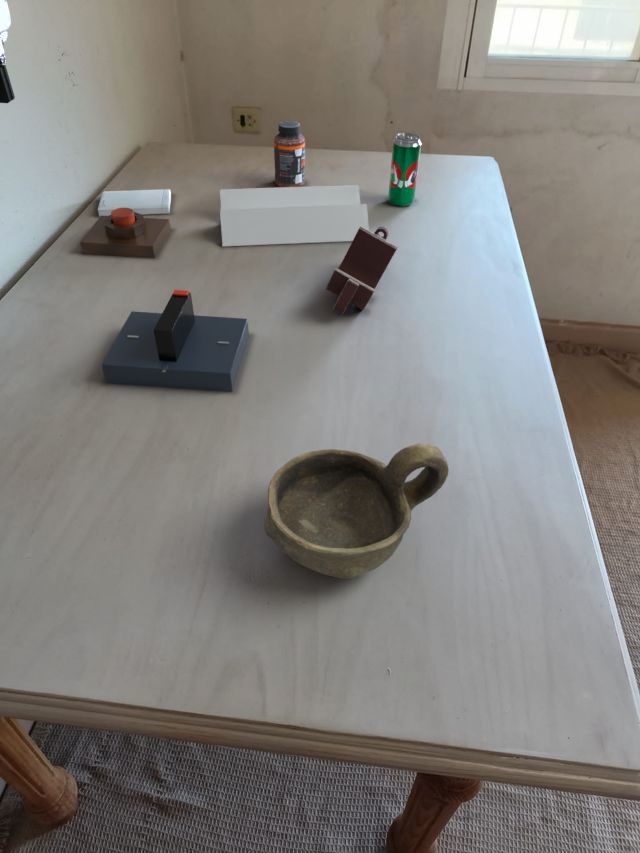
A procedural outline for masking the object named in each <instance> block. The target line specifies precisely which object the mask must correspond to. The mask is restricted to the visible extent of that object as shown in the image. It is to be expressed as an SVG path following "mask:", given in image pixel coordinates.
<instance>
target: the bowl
mask: <svg viewBox="0 0 640 853" xmlns="http://www.w3.org/2000/svg"><path fill="white" fill-rule="evenodd" d="M421 468H423V469H422V470H421V471H420V472H419V473H418V474H417V475H416V476H415V477H414V478H413V479H411V480H407V478H408V477H409V476H410V475H411V474H412V473H414V472H415V471H417V470H418V469H421ZM448 475H449V464H448V461H447V459H446V457H445V456H444V454H443V452H442V450H441V449H440V448H439V447H437V446H436V445H435V444H432V443H424V442H423V443H422V442H421V443H420V442H419V443H415V444H411V445H409V446H407V447H404V448H402V449H400V450H399V451H397V452H396V453H395V454H394V455H393V456H392V457H391V458H390V460H389V462H388V463H387V464H386V463H384V462H382V461H380V460H379V459H375V458H374V457H371V456H368V455H365V454H362V453H361V452H358V451H352V450H347V449H337V448H324V449H318V450H312V451H307V452H305V453H302V454H298V455H297V456H294V457H293V458H291V459H290V460H288V461H287V462H286V463H285V464H284V465H283V466H281V467H280V468H279V469H277V470H276V472H275V473H274V474H273V476H272V477H271V480H270V482H269V485H268V489H267V504H268V508H267V514H266V518H265V522H264V533H265V534H266V536H267V537H268V538H269V539H270V540H272V542H273V543H274V544H275V545H276V547H277V548H278V549H280V550H281V552H282V553H284V554H285V555H286V556H287V557H288V558H290V559H291V560H292V561H293V562H296V563H298V564H299V565H301V566H303V567H305V568H307V569H309V570H311V571H314V572H316V573H319V574H322V575H326V576H330V577H334V578H338V579H342V580H343V579H344V580H353V579H357V578H360V577H362V576H364V575H365V574H367V573H368V572H371V571H373V570H375V569H376V568H379V567H380V566H382V565H383V564H384V563H386V562H387V561H388V560H389V559H390V558H391V557H392V556H393V555H394V553H395V552H396V551H397V549H398V547H399V546H400V545H401V542H402V540H403V538H404V534H405V533H406V532H407V531H408V529H409V527H410V524H411V521H412V511H413V510H414V508H415V507H417V506H418V505H420V504H422V503H424V502H425V501H426V500H428V499H429V498H431V497H433V496H434V495H435V494H436V493H437V492H438V491H439V490H441V488H442V487H443V486H444V484H445V482H446V480H447V478H448Z"/></svg>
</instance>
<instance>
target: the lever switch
mask: <svg viewBox="0 0 640 853" xmlns="http://www.w3.org/2000/svg"><path fill="white" fill-rule="evenodd" d="M162 313H163V312H148V311H147V312H146V311H131V312H130V313H129V315H128V317H127V318H126V320H125V322H124V324H123V325H122V328H121V329H120V331H119V332H118V334H117V336H116V338H115V340H114V342H113V344H112V345H111V347H110V349H109V350H108V352H107V354H106V355H105V357H104V359H103V361H102V363H101V364H100V365H101V368H102V373H103V377H104V379H105V383H106V384H111V385H112V384H113V385H128V386H143V387H154V388H155V387H156V388H170V389H171V388H172V389H183V390H184V389H185V390H198V391H210V392H211V391H213V392H224V393H225V392H226V393H227V392H228V393H233V392H234V388H235V384H236V381H237V378H238V375H239V372H240V369H241V365H242V361H243V358H244V356H245V352H246V348H247V344H248V342H249V338H250V332H249V331H250V330H249V319H248V318H242V317H241V318H240V317H225V316H212V315H211V316H210V315H196V314H194V318H195V322H194V324H193V327H192V329H191V331H190V333H189V335H188V338H187V340H186V342H185V344H184V347H183V349H182V351H181V353H180V355H179V358H178V360H177V362H174V361H161V360H159V356H158V351H157V346H156V341H155V335H154V328H155V326H156V324H157V322H158V320H159V318H160V317H161V315H162Z"/></svg>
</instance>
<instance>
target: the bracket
mask: <svg viewBox="0 0 640 853" xmlns="http://www.w3.org/2000/svg"><path fill="white" fill-rule="evenodd" d="M379 233H382V234H383V236H381V235H380V234H379ZM388 236H389V230H388V229H387V227H384V226H379V227H377V228H376V230H375V231H374V232H372V231H371V230H370V229H369V230H367V229H365V228H364V227H362V226H360V228H359V229H358V231H357V233H356V235H355V237H354V239H353V241H351V243H350V245H349V247H348V248H347V251H346V253H345V254H344V257H343V259H342V261H341V263H340V264H339V266H338V268H337V267H335V269H334V271H333V272H332V274H331V276H330V278H329V281H328V283H327V285H326V287H325V290H326V291H328V292H330V293H332V294H333V295H335V296H337V297H338V298H337V300H336V302H335V304H334V305H333V307H332V310H333V311H334V312H336V313H338V314H340V315H341V316H343V315H344V313H345V311H346V310H347V308H348V306H349V305H350V304H351V305H353V306H355V307H357V308H358V309H360V310H362V311H364V310H365V309H366V307H367V305H368V303H369V301H370V300H371V298H372V296H373V295H374V292H375V290H376V287H377V286H378V284H379V282H380V280H381V278H382V277H383V275H384V273H385V271H386V270H387V268H388V266H389V264H390V262H391V260H392V259H393V257H394V256H395V253H396V252H397V250H398V248H399V246H397V245H396V244H394V243H393V242H390V241H388V240H387V238H388Z"/></svg>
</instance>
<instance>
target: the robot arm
mask: <svg viewBox="0 0 640 853" xmlns="http://www.w3.org/2000/svg"><path fill="white" fill-rule="evenodd" d="M11 25H12V19H11V13H10V9H9V4H8V1H7V0H0V104H9V103H11V102H12V101H14V100H15V98H16V96H15V93H14V89H13V85H12V83H11V79H10V76H9V72H8V69H7V65H6V63H7V57H6V53H5V48H4V44H5V43H6V41H7V39H8V38H9V33H8V30H9V28H10V27H11Z"/></svg>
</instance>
